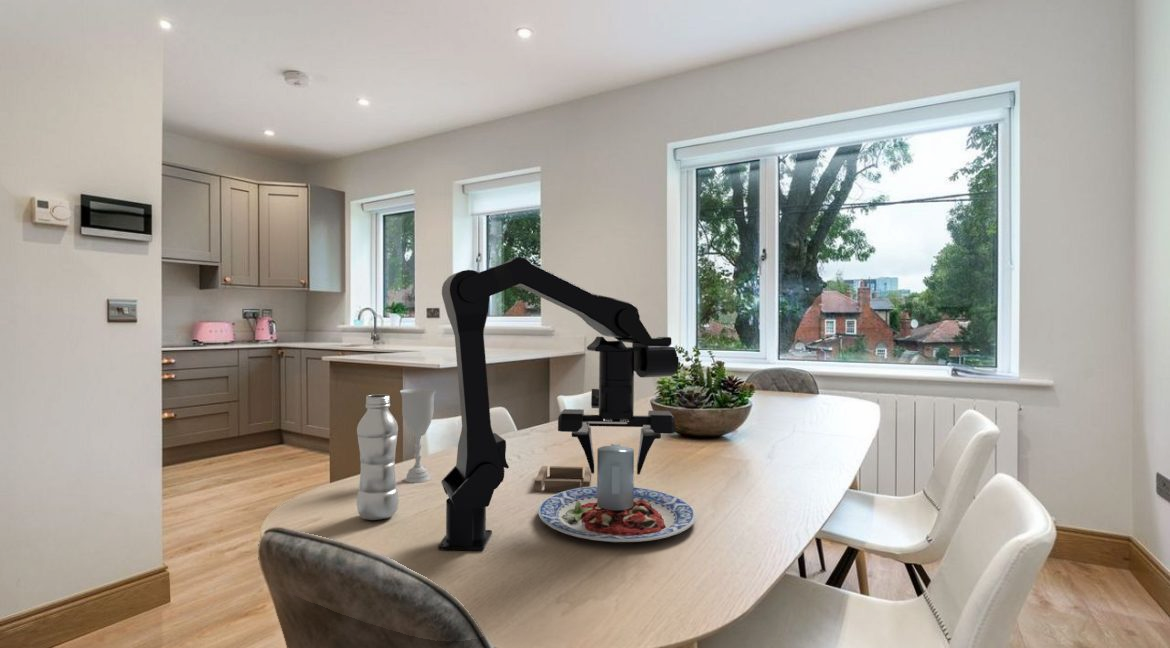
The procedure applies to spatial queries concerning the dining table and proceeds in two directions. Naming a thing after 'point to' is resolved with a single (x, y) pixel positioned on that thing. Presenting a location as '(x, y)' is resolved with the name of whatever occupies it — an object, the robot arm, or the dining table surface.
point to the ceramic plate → (617, 516)
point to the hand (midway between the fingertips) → (615, 473)
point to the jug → (615, 477)
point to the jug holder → (562, 483)
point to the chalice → (417, 425)
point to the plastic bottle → (377, 460)
